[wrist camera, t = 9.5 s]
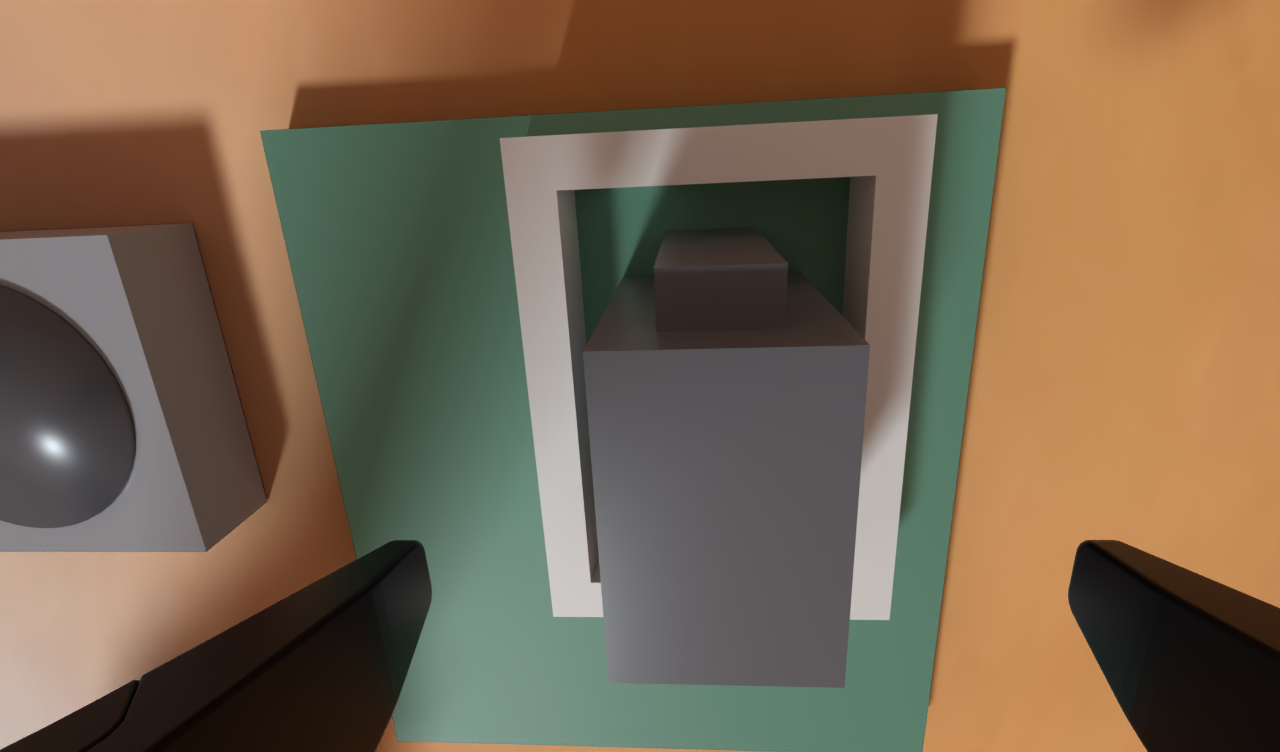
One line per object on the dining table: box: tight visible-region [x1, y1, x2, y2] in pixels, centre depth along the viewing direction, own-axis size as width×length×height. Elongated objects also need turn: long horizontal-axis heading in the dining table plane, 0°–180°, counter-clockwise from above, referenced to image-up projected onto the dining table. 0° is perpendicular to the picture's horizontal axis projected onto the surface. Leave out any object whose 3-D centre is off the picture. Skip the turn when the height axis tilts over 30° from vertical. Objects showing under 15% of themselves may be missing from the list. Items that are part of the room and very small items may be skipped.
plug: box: [583, 227, 870, 688], centre depth 13 cm, size 4×7×6 cm, turn 3°
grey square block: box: [0, 223, 267, 552], centre depth 17 cm, size 8×8×3 cm
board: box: [260, 88, 1006, 752], centre depth 16 cm, size 16×18×3 cm
